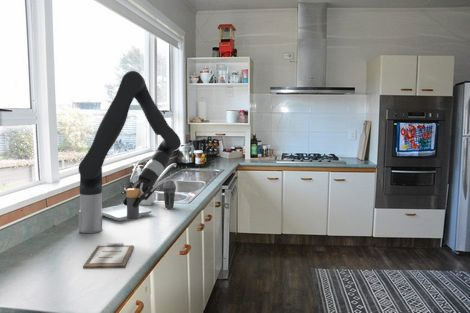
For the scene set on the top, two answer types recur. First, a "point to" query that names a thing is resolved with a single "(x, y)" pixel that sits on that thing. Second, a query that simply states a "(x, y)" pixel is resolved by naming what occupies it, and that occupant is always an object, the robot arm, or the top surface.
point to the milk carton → (148, 200)
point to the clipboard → (109, 256)
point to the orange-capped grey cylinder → (131, 197)
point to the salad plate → (122, 212)
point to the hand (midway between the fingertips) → (129, 205)
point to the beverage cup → (169, 193)
